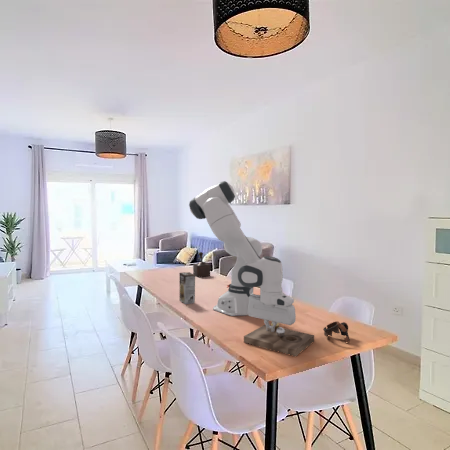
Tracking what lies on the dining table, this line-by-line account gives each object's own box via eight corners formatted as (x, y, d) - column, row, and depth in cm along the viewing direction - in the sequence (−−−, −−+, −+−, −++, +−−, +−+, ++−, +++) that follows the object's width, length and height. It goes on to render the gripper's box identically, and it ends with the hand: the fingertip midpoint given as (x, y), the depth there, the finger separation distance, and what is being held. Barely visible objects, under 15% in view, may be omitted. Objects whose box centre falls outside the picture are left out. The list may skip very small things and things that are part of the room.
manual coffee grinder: (211, 276, 268) (211, 253, 267) (199, 277, 262) (199, 254, 261) (201, 273, 281) (201, 251, 280) (189, 274, 275) (189, 252, 274)
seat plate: (243, 342, 134) (243, 336, 134) (265, 329, 149) (265, 324, 149) (295, 356, 121) (295, 349, 121) (314, 341, 136) (314, 335, 136)
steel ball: (281, 328, 132) (282, 338, 132) (286, 326, 135) (286, 335, 135) (274, 327, 134) (274, 336, 134) (278, 325, 137) (278, 334, 137)
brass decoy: (269, 329, 142) (269, 320, 142) (273, 326, 145) (273, 318, 145) (276, 330, 140) (277, 322, 140) (280, 328, 143) (280, 320, 143)
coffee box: (178, 300, 196) (179, 272, 195) (189, 299, 198) (189, 271, 198) (184, 304, 187) (184, 275, 187) (195, 303, 190) (195, 274, 190)
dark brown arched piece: (345, 347, 131) (334, 328, 132) (327, 351, 138) (316, 332, 139) (358, 332, 139) (348, 314, 140) (340, 336, 146) (330, 319, 147)
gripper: (245, 294, 140) (244, 327, 140) (290, 303, 128) (290, 339, 128) (253, 291, 145) (252, 323, 145) (297, 299, 133) (296, 334, 133)
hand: (270, 331), depth 137 cm, fingers closed
